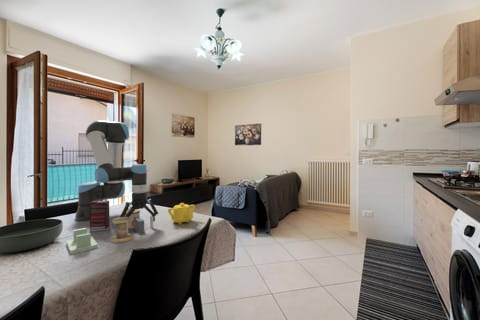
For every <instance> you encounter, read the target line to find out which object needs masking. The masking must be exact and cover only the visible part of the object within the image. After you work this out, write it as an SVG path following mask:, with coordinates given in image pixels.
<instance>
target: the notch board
mask: <svg viewBox="0 0 480 320" xmlns="http://www.w3.org/2000/svg"><path fill="white" fill-rule="evenodd" d="M72 231H73V232H72V233H73V239H70V240H66V246H67V248H68V249H67V250H68V252H69V254H70V255H74V254H77V253H81V252H85V251H88V250H89V251H90V250H93V249H98V248H99V244H98V243H97V241H96V240H95V237H94V236H92V234H91V232H88V229H87V227H83V228H78V229H73V230H72Z"/></svg>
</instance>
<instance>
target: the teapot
mask: <svg viewBox="0 0 480 320" xmlns="http://www.w3.org/2000/svg"><path fill="white" fill-rule="evenodd" d="M195 208H196V205H195V204H186V203H184V202H181V203H179V204H176V205H174V206H173V207H169V208H168V209H167V212H168V214H169V216H170V219H171V221H173V222H174V223H177V225H180V226H181V225H183V223H186V224H187V223H189V224H190V223H191V221H192V219H193V218H194V210H195Z"/></svg>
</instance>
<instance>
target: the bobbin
mask: <svg viewBox="0 0 480 320" xmlns="http://www.w3.org/2000/svg"><path fill="white" fill-rule="evenodd" d="M111 221H112V223H113V224H114V225H115V224H116V234H115V235H113V236H111V237H110V238H109V241H110V243H112V244H113V243H115V244H118V243H119V244H120V243H125V242H128V241H131V240H132V239H133V238H134V237H133V234H132V233H129V232H128V233H127V222H129V221H130V217H120V216H119V217H115V218H113V219H112V220H111Z"/></svg>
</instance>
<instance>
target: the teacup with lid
mask: <svg viewBox="0 0 480 320" xmlns="http://www.w3.org/2000/svg"><path fill="white" fill-rule="evenodd" d="M131 207H132V205H130V206H129V208H128V210H127V212H126V214H127V213H128V212H129V211H130V209H131ZM140 213H141V209H136V210H135V211H134V212H133V213H132V214H131V215H130V221H129V222H128V230H129V229H135V219H138V218H141V217H140ZM126 214H125V216H126ZM125 216H124V217H125Z"/></svg>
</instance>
